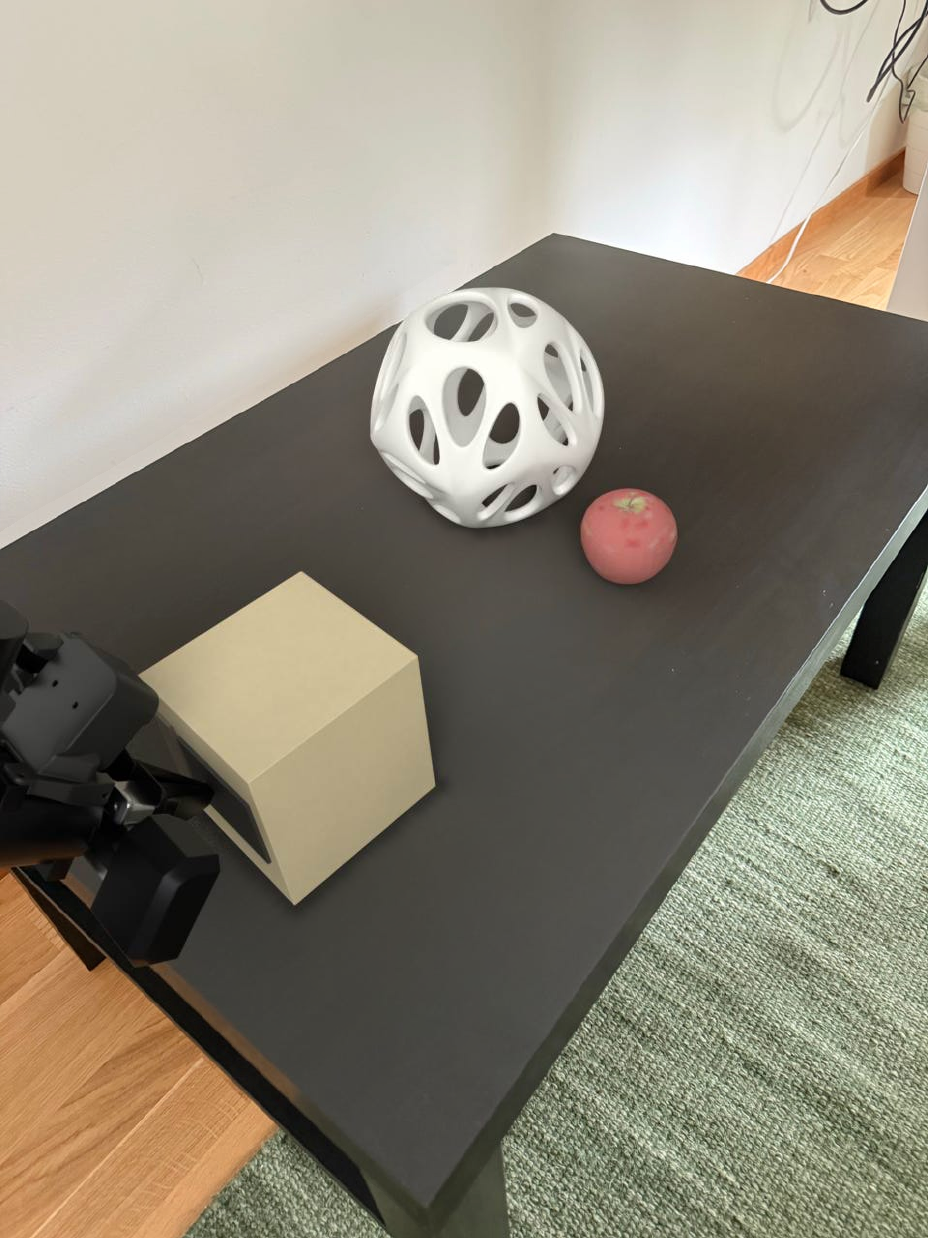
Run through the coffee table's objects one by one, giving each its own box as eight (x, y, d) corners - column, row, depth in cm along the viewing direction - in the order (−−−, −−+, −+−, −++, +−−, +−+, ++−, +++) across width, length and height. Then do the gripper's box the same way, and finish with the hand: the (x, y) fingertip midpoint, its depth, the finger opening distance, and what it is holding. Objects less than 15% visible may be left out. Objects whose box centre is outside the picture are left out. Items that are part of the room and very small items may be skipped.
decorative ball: (384, 577, 78) (354, 394, 65) (377, 442, 92) (351, 271, 79) (621, 551, 78) (635, 365, 66) (578, 421, 92) (583, 247, 80)
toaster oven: (291, 908, 57) (243, 786, 48) (192, 804, 63) (133, 677, 53) (435, 786, 63) (418, 655, 53) (333, 701, 68) (301, 570, 59)
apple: (628, 531, 80) (634, 454, 74) (689, 577, 75) (701, 498, 70) (560, 567, 77) (562, 490, 71) (619, 616, 73) (626, 538, 67)
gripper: (113, 776, 35) (371, 767, 48) (-80, 561, 45) (177, 601, 58) (7, 1009, 37) (282, 941, 50) (-156, 754, 47) (109, 752, 60)
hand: (208, 795), depth 55 cm, fingers closed, pressing on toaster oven
